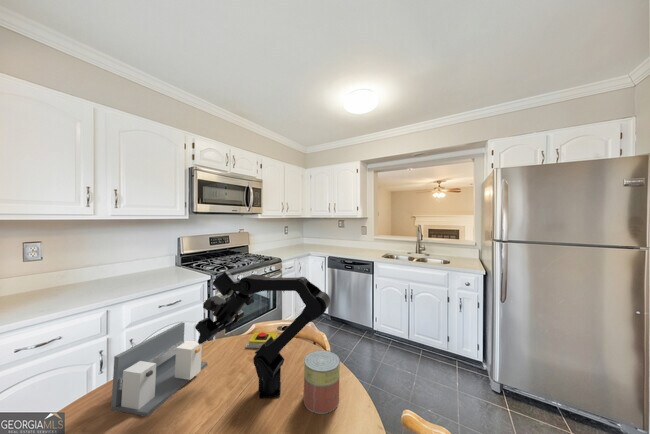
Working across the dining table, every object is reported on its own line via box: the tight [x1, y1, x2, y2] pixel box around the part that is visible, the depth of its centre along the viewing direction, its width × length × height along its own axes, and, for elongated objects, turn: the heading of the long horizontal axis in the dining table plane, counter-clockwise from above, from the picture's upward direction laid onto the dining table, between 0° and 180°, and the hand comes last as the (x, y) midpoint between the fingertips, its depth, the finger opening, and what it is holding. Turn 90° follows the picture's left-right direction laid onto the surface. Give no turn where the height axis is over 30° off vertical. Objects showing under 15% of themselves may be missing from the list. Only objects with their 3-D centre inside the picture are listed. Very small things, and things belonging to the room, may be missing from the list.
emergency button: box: [245, 331, 278, 349], centre depth 105 cm, size 9×4×15 cm
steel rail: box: [118, 340, 185, 390], centre depth 77 cm, size 1×23×3 cm, turn 170°
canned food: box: [303, 349, 341, 415], centre depth 71 cm, size 11×11×12 cm
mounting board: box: [110, 321, 208, 418], centre depth 77 cm, size 12×24×15 cm, turn 170°
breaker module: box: [175, 340, 203, 381], centre depth 80 cm, size 7×5×10 cm
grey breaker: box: [121, 361, 156, 410], centre depth 68 cm, size 7×5×10 cm
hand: (208, 337), depth 81 cm, fingers open, 9 cm apart
